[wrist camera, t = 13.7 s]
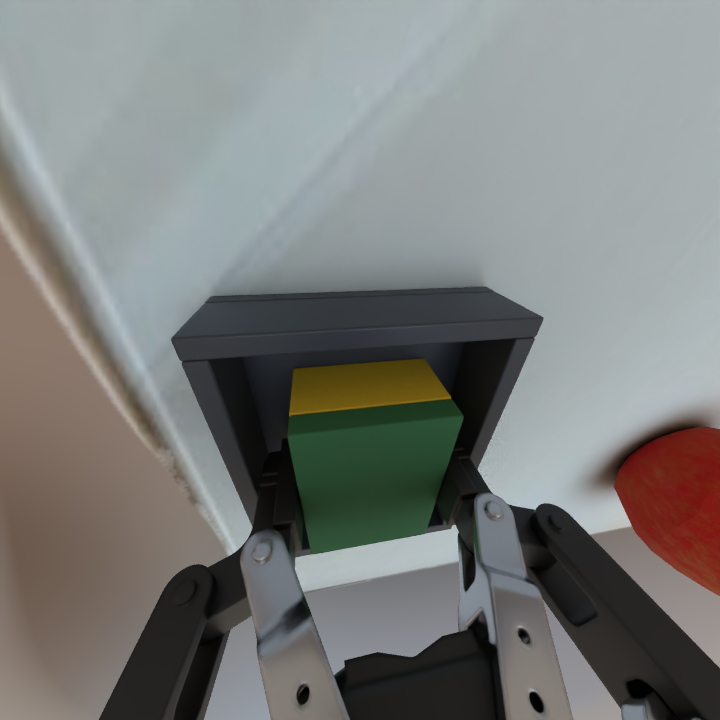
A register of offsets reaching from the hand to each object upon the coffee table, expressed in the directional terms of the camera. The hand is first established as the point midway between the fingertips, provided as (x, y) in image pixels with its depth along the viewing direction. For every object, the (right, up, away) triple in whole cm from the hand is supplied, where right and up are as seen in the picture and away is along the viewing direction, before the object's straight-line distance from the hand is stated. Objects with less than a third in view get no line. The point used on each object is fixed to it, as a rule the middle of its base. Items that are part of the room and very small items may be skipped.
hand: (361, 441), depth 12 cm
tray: (0, +1, +1) cm, 1 cm away
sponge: (0, 0, +1) cm, 1 cm away
